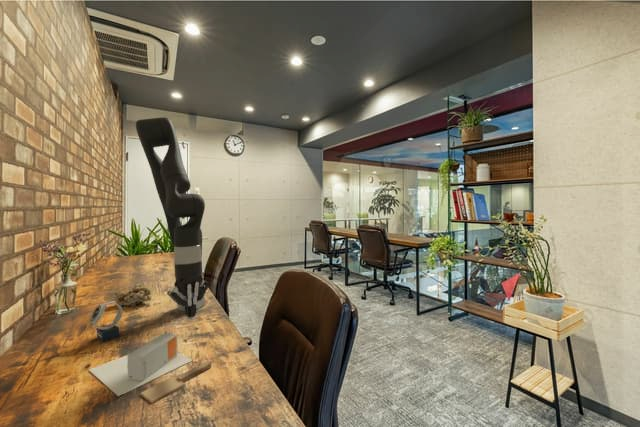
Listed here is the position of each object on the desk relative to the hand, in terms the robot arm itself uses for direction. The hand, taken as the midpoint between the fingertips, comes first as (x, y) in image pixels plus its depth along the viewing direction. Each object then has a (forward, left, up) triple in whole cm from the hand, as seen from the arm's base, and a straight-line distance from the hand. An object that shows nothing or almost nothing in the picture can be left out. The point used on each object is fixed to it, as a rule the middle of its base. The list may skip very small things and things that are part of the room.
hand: (190, 316), depth 87 cm
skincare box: (+8, +4, -4) cm, 10 cm away
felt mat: (+15, +2, -7) cm, 17 cm away
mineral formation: (-6, -53, -8) cm, 54 cm away
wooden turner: (+13, +17, -7) cm, 23 cm away
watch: (+13, -25, -8) cm, 29 cm away
